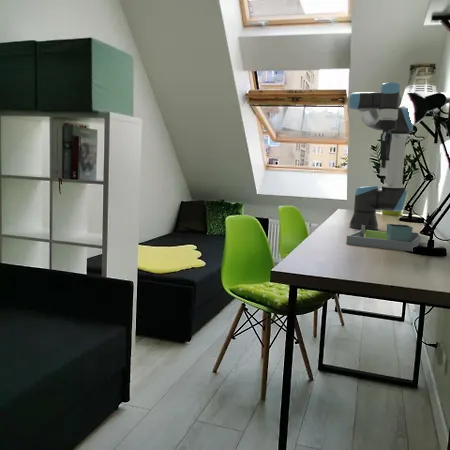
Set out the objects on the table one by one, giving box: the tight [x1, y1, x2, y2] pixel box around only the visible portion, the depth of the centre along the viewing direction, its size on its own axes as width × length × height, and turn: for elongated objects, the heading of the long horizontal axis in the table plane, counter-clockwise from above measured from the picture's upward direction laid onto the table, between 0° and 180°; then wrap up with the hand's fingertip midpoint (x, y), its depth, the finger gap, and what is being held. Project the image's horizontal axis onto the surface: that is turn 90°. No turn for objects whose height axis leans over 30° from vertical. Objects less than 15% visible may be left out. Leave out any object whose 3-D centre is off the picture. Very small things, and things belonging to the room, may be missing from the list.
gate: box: [364, 229, 388, 240], centre depth 217 cm, size 2×12×5 cm, turn 54°
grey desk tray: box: [346, 225, 422, 252], centre depth 206 cm, size 24×26×6 cm
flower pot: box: [386, 223, 414, 242], centre depth 201 cm, size 9×9×9 cm
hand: (383, 175), depth 206 cm, fingers closed
